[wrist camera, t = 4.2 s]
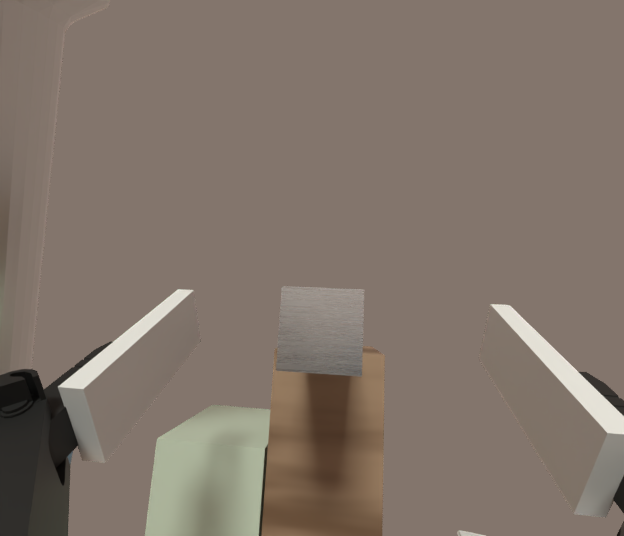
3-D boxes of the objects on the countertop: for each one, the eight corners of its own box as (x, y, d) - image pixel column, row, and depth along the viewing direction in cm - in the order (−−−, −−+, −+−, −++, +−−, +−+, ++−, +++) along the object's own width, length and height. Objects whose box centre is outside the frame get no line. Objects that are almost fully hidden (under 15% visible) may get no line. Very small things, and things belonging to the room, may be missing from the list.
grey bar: (361, 376, 11) (364, 289, 12) (276, 370, 11) (281, 286, 12) (347, 342, 35) (348, 314, 35) (320, 340, 35) (321, 312, 35)
